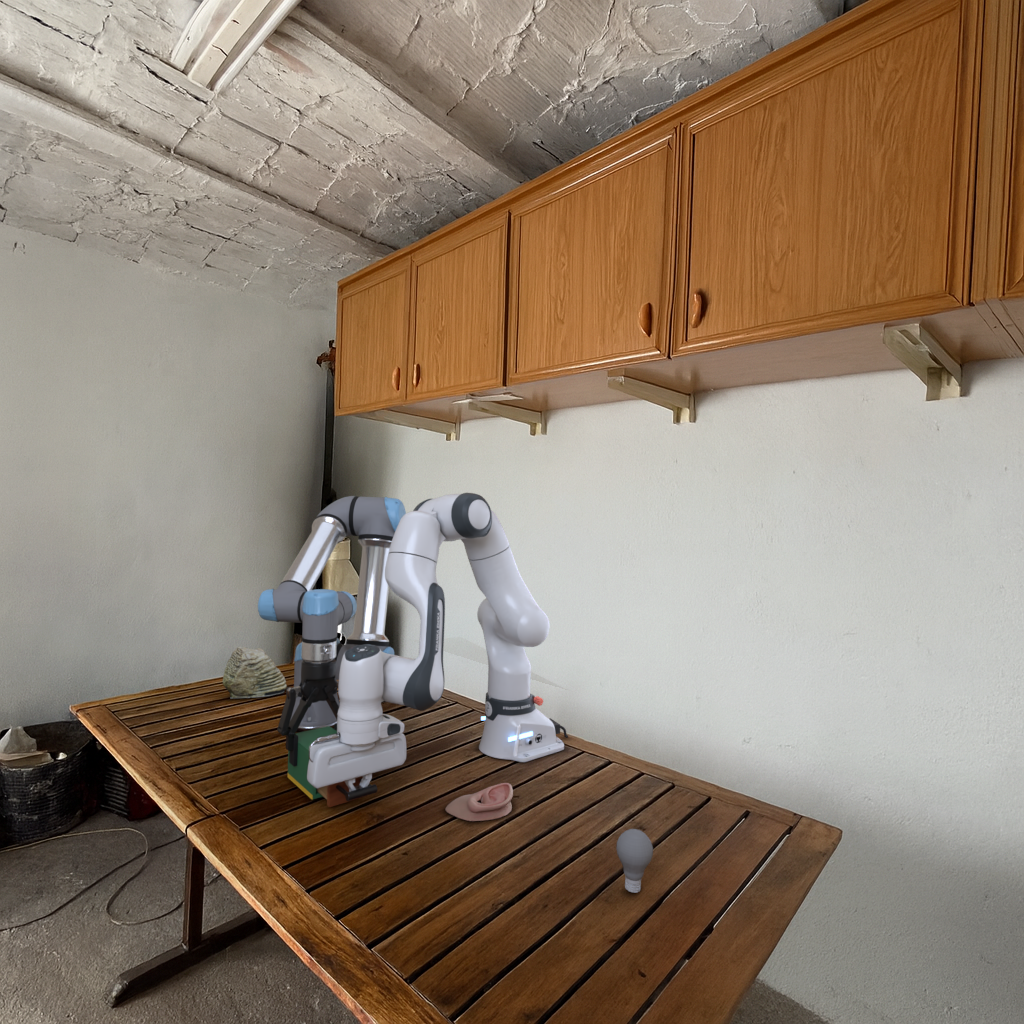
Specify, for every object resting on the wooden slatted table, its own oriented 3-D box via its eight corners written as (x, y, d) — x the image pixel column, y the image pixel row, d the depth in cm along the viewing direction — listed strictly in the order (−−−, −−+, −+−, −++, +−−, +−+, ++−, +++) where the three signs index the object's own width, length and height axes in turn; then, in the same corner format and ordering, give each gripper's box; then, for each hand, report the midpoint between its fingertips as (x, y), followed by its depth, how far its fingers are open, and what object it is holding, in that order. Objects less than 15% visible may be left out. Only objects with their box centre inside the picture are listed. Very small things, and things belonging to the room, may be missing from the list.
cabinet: (354, 787, 138) (355, 743, 138) (312, 799, 132) (313, 753, 132) (328, 766, 148) (329, 725, 148) (287, 777, 142) (288, 734, 142)
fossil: (218, 695, 195) (220, 647, 195) (278, 685, 208) (279, 640, 207) (228, 703, 189) (230, 653, 188) (289, 692, 201) (290, 645, 201)
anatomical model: (441, 797, 127) (457, 773, 138) (440, 817, 127) (456, 791, 138) (505, 806, 124) (517, 781, 136) (504, 826, 124) (516, 800, 136)
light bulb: (610, 879, 108) (613, 822, 108) (644, 879, 109) (647, 822, 109) (619, 902, 102) (622, 840, 102) (655, 901, 103) (658, 840, 103)
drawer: (381, 807, 128) (382, 768, 128) (342, 819, 122) (344, 779, 122) (341, 775, 142) (342, 740, 142) (304, 785, 136) (305, 749, 136)
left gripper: (275, 670, 132) (271, 776, 132) (371, 656, 146) (368, 752, 147) (262, 662, 138) (259, 764, 138) (356, 649, 152) (353, 742, 152)
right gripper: (316, 745, 118) (313, 818, 118) (411, 722, 131) (409, 788, 131) (302, 734, 122) (300, 805, 123) (396, 714, 136) (393, 777, 136)
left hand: (315, 758), depth 142 cm, fingers closed on cabinet, 10 cm apart
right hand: (357, 796), depth 127 cm, fingers closed, pressing on drawer
